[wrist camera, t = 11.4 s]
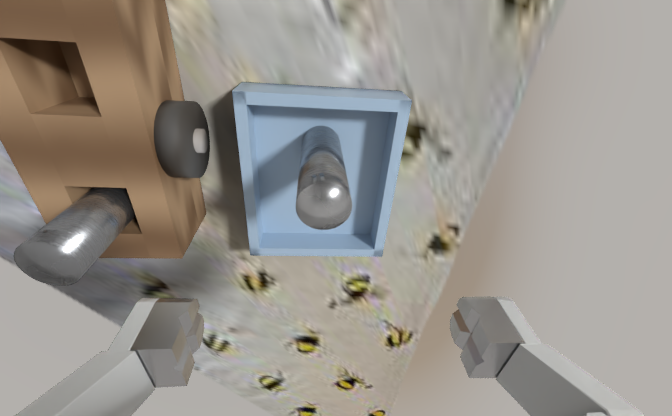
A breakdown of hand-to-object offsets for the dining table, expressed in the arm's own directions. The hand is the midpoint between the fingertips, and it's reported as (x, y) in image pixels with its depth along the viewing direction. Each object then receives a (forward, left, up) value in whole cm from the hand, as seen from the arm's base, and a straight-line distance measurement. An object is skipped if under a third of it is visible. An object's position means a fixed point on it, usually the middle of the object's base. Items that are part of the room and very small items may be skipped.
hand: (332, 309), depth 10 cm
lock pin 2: (+1, 0, -16) cm, 16 cm away
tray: (+3, 0, -17) cm, 17 cm away
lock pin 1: (+4, -14, -15) cm, 21 cm away
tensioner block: (0, -14, -17) cm, 22 cm away
